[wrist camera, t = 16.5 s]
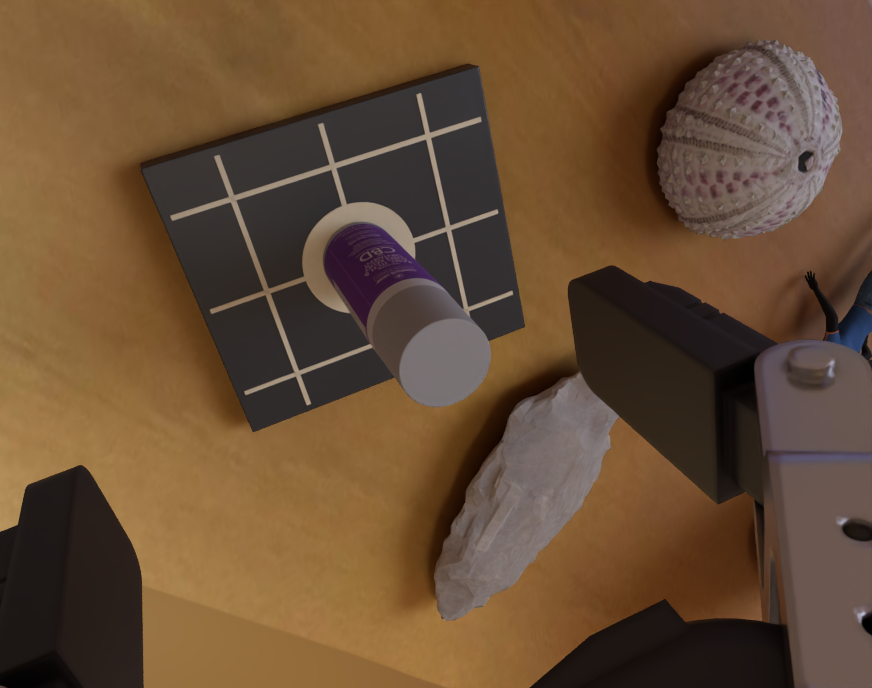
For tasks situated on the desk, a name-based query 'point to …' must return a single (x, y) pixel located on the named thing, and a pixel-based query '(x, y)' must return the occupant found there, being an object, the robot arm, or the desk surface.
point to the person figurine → (848, 318)
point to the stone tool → (523, 493)
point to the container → (406, 316)
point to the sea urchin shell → (749, 142)
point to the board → (325, 214)
